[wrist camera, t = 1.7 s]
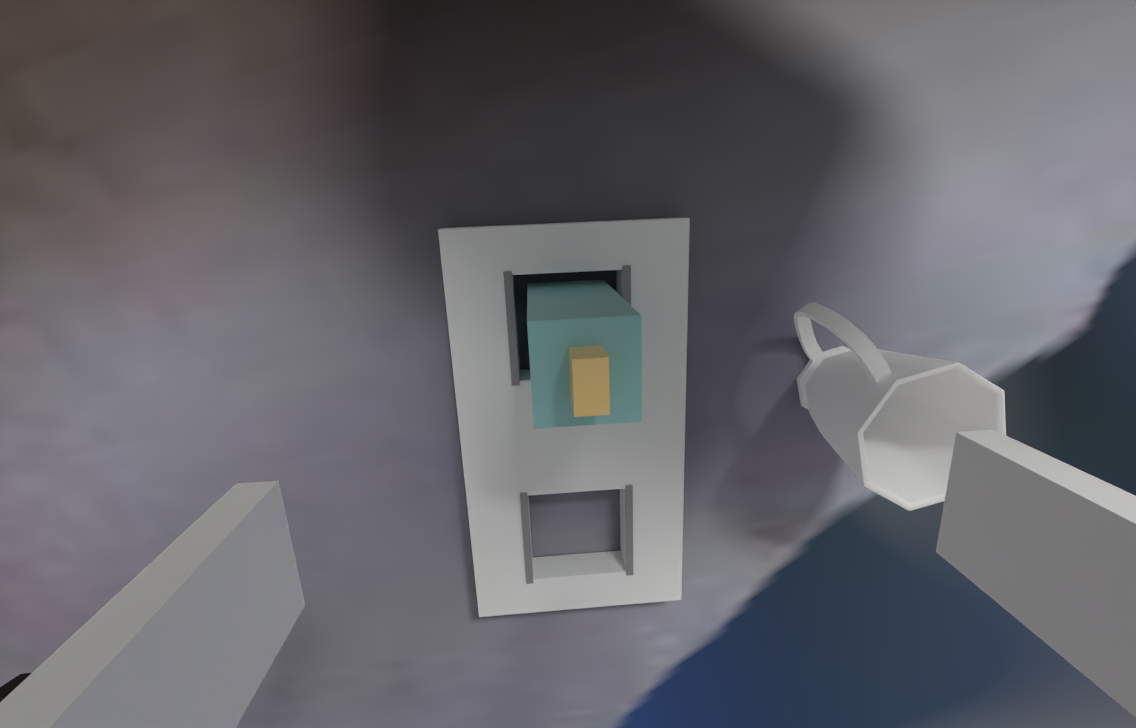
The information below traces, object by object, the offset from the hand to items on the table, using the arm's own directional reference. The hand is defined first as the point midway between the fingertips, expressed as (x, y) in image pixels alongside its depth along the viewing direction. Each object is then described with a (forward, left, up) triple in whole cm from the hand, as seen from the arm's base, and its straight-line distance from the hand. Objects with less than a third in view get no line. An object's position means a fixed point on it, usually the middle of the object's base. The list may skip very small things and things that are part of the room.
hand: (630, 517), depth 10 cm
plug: (0, 0, -19) cm, 19 cm away
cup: (+3, +14, -19) cm, 24 cm away
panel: (+6, 0, -19) cm, 20 cm away
